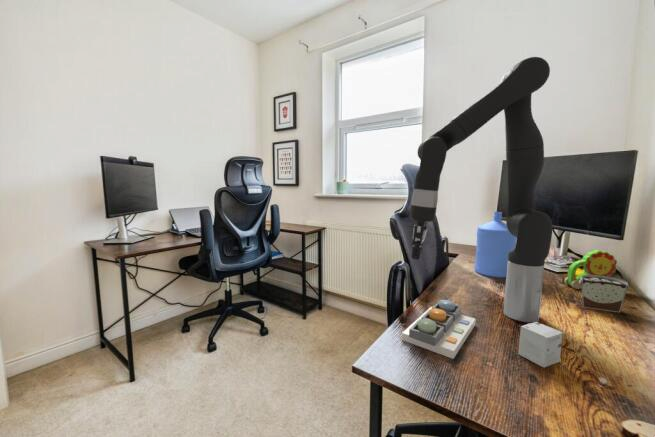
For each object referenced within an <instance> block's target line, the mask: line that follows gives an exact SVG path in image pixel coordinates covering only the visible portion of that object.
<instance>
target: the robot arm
mask: <svg viewBox="0 0 655 437" xmlns="http://www.w3.org/2000/svg"><path fill="white" fill-rule="evenodd" d="M550 72H551V68H550V65H549V63H548V61H547V60H545V59H544V58H542V57H538V56H532V57H528V58H525V59H522V60H521V61H519V62H517V63H516V64H515V65H514V66H512V67H511V68H510V69H508V70H507V71H506V72H505V73H504V74H503V76H502V78H501V82H500V84H498V85H497V86H496V87H494V89H492V90H490V91H489V93H486V94H485V95H484V96H483V97H481V98H479V100H477V101H475V102H474V103H472V104H471V105H470V106H468V107H467V108H465V109H463V111H461V112H460V113H459V114H457V115H456V116H454V117H453V118H452V119H451V120H449V121H448V122H447V123H446V124H445V125H444V126H443V127H442V128H441V129H439V130H438V131H436V132H434V133H433V134H432V135H430V136H429V137H428V138H426V139H425V140H423V141H422V142H420V144H419V146H418V148H417V157H418V158H419V159H420V163H419V169H418V171H417V172H416V175H415V180H414V187H413V191H412V192H413V193H412V196H411V203H410V212H409V219H410V220H414V221H416V224H414V225H413V228H412V231H413V232H412V241H411V244H412V253H411V258H412V259H413V260H419V259H420V256H421V254H422V252H423V246H424V245H423V244H424V241H425V238H426V236H427V232H428V227H429V226H427V225H428V223H433V222H435V221H436V214H437V207H438V202H439V188H440V181H441V174H442V171H443V168H444V165H445V162H446V159H447V158H446V157H447V152H448V151H449V150H451V149H452V148H453V147H455V146H457V145H458V144H460V143H462V142H464V141H465V140H466V139H468V138H469V137H471V136H472V135H473V134H474V133H475V132H477V131H478V130H479V129H480V128H482V127H484V125H486V124H487V123H488V122H489V121H491V120H492V119H493V118H494V117H496V116H497V115H498V114H500V113H501V112H502V111H503V113H504V122H505V123H504V124H505V126H504V130H505V156H506V157H505V159H506V160H505V162H506V174H507V176H506V179H507V182H506V183H507V204H506V205H507V206H506V207H507V208H506V216H505V217H506V218H505V219H506V222H505V224H506V225H507V229H508V231H509V232H510V233H511V234H512V235H513V236H515V237H517V239H516V247H515V249H514V250H511V251H510V252H509V253H508V263H507V275H506V278H505V290H504V301H503V302H504V303H503V314H504V315H505V316H506V317H508V318H510V319H513V320H515V321H519V322H524V323H534V322H538V323H539V320H540V317H541V316H540V315H541V314H540V313H541V305H542V293H543V282H544V272H545V271H544V270H545V261H546V259H547V258H548V256H549V254H550V248H551V243H552V236H553V227H554V226H553V222H552V218H551V217H550V216H549V214H548V213H546V212H543V211H540V210H536V209H535V208H536V207H535V190H536V186H537V184H538V181H539V179H540V176H541V175H542V171H543V169H544V168H543V167H544V164H545V163H544V162H545V146H544V144H545V143H544V138H543V136H542V133H541V130H540V129H539V127H538V125H537V123H536V122H535V119H534V117H533V113H532V96H533V93H535V92H537V91H539V89H540V88H542V87H543V86H544V85H545V84H546V83H547V81H548V80H549V77H550ZM427 222H428V223H427Z"/></svg>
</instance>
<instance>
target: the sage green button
mask: <svg viewBox="0 0 655 437" xmlns="http://www.w3.org/2000/svg"><path fill="white" fill-rule="evenodd" d="M418 331H421V332H424V333H427V334H430V335H432V334H435V333H436V323H435V322H434V321H432V320H429V319H420V320H419V321H418Z"/></svg>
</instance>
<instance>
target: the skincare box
mask: <svg viewBox="0 0 655 437" xmlns="http://www.w3.org/2000/svg"><path fill="white" fill-rule="evenodd" d="M519 333H520V334H519V341H518V342H519V343H518V344H519V345H518V353H517V354H518V355H520V356H521V357H523V358H525V359H527V360H529V361H531V362H532V363H534V364H536V365H537V366H540V367H541V368H543V369H544V368H547V367H549V366H553V365H554V364H558V363H559V362H560V361H561V354H562V342H563V334H564V333H563V331H560V330H559V329H556V328H553V327H550V326H548V325H546V324H543V323H541V322H539V321H538V322H534V323H533V322H528V323H527V324H523V325H521V326H520V332H519Z"/></svg>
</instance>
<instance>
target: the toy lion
mask: <svg viewBox="0 0 655 437" xmlns="http://www.w3.org/2000/svg"><path fill="white" fill-rule="evenodd" d="M617 263H618V262H617V259H616V258H615V256H614V254H611V253H609V252H608V251H605V250H604V251H603V250H599V249H594V250H592V251H589V252H587V253H586V254H585V255H584V256H582V258H581V259H579V260H576V261H573V263H571V264H570V265H569V267H568V271H567V277H565V278H564V284H565V285H567V286H569V287H572V288H573V289H575V290H582V284H581V283H579V281H580V278H581V277H582V276H583V275H599V276H606V277H611V276H612V275H613V274H614V272H615V271H617ZM580 267H583V269H584V272H583V273H582V272H581V273H580V274H578V275H577V276H576V273H577V272H576V271H577V270H578V268H580Z"/></svg>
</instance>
